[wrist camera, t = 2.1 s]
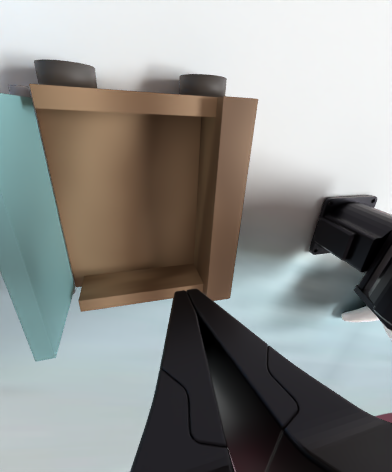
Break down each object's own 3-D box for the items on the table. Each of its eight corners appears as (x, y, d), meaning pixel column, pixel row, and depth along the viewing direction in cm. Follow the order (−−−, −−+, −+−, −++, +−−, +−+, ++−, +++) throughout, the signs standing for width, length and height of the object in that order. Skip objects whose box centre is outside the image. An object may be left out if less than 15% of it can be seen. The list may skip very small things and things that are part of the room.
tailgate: (31, 87, 13) (-39, 69, 7) (76, 288, 20) (57, 363, 14) (10, 86, 13) (-80, 66, 7) (63, 289, 19) (37, 367, 14)
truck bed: (223, 82, 17) (262, 72, 13) (208, 271, 25) (228, 309, 20) (33, 65, 14) (-11, 43, 9) (80, 287, 22) (69, 336, 17)
